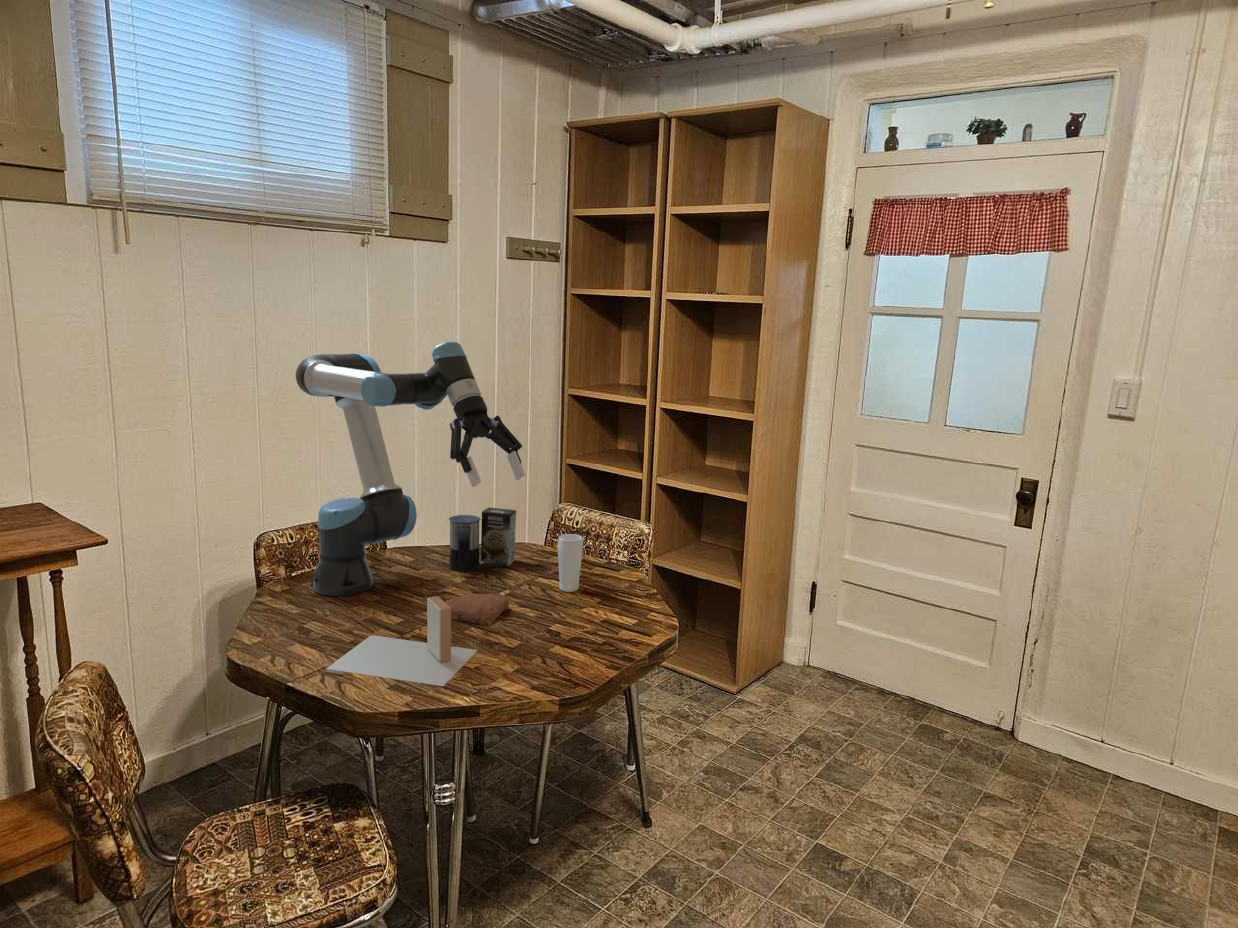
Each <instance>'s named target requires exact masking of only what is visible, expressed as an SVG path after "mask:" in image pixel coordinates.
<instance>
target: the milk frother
mask: <svg viewBox="0 0 1238 928" xmlns="http://www.w3.org/2000/svg"><path fill="white" fill-rule="evenodd" d="M448 521H449V560H448V561H449V564H448V568H449V567H450V568H449V569H451V568H452V569H451V570H453V569H455V570H454V571H457V570H462V571H461V572H470V571H469V570H471V571H475V570H478V569H479V568H486V567H493V566H494V567H496V569H497V568H498V569H502V568H503V565H506V564H507V562H502V560H501V559H499V560H496V561H495V563H486V564H484V563H481V561H480V523H481V522H480V521H482V518H481V517H480V516H478V515H472V514H458V515H457V514H456V515H453V516H450V517H449V518H448ZM477 568H478V569H477ZM463 570H465V571H463ZM467 570H468V571H467Z"/></svg>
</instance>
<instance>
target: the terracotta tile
mask: <svg viewBox="0 0 1238 928" xmlns="http://www.w3.org/2000/svg"><path fill="white" fill-rule="evenodd" d="M426 602H427V603H426V604H427V605H426V612H427V613H426V620H427V622H426V623H427V624H426V627H427V628H426V629H427V630H426V632H427V633H426V640H427V641H426V643H427V648H428V649H429V650H430V651H431V653H432V654H433V655H434V656H435V657H436V658H437V659H438V660H439V661H440V662H441V663H444V662H449V661H451V646H452V619H451V607H449V606H448V605H447V604H446V603H445V600H443V599H442V598H441V597H440V596H438V595H437V596H430V597H427V599H426Z"/></svg>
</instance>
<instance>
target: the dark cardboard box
mask: <svg viewBox="0 0 1238 928" xmlns="http://www.w3.org/2000/svg"><path fill="white" fill-rule="evenodd" d="M516 519H517V510H516V509H509V508H508V509H507V508H498V507H487V508H485V509H484V510H482V511H481V532H480V533H481V534H480V535H481V536H480V537H481V538H480V539H481V540H480V563H481V562H484V563H495V561H496V560H499V559H501V560H502V562H507V564H506V565H507V566H506V567H509V566H510V565H511V564H513V561H514V562H515V560H516V559H515V558H516V557H515V556H516V554H515V553H516V527H517V523H516V522H517V520H516ZM484 563H483V564H484ZM508 565H509V566H508Z"/></svg>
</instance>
